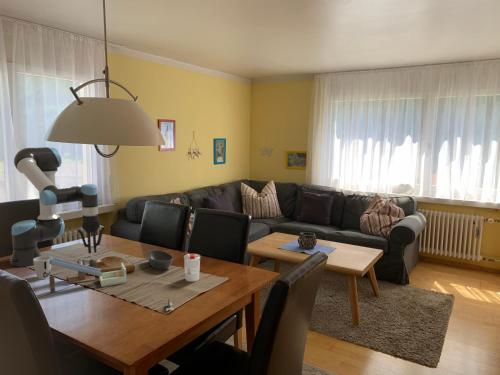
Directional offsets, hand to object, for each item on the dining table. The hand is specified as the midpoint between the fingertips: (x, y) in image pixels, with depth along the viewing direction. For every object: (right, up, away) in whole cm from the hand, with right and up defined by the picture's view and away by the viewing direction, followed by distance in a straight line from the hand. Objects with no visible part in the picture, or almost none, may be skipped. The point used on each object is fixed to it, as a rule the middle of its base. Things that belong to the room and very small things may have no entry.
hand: (92, 258), depth 192 cm
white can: (+52, -10, -3) cm, 53 cm away
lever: (-4, -1, -11) cm, 12 cm away
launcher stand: (-6, -10, -9) cm, 15 cm away
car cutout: (+49, -15, -39) cm, 64 cm away
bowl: (+31, -7, +15) cm, 35 cm away
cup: (-24, -9, -3) cm, 25 cm away
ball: (+16, -7, -7) cm, 19 cm away
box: (+13, -10, -8) cm, 18 cm away
